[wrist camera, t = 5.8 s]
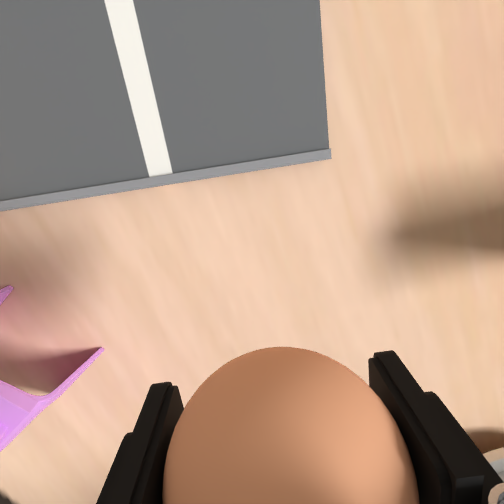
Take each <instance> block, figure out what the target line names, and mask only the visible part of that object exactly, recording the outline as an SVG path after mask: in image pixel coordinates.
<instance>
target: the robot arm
mask: <svg viewBox="0 0 504 504" xmlns="http://www.w3.org/2000/svg"><path fill="white" fill-rule="evenodd" d="M368 363H369V387H370V388H371V389H372V390H373V391H374V392H375V393H376V394H377V395H378V397H379V398H380V399H381V400H382V402H383V403H384V405H385V406H386V407H387V409H388V410H389V412H390V413H391V415H392V417H393V418H394V420H395V421H396V423H397V425H398V428H399V430H400V432H401V434H402V436H403V438H404V440H405V443H406V445H407V447H408V450H409V454H410V457H411V460H412V464H413V467H414V471H415V475H416V480H417V486H418V493H419V504H504V447H502V448H498V449H495V450H491V451H488V452H486V453H484V454H482V453H481V452H480V450H479V449H478V448H477V446H476V445H475V444H474V443H473V441H472V440H471V439H470V437H469V436H468V435H467V433H466V432H465V431H464V430H463V428H462V427H461V426H460V424H459V423H458V422H457V420H456V419H455V418H454V417H453V415H452V414H451V413H450V411H449V410H448V409H447V407H446V406H445V405H444V404H443V402H442V401H441V400H440V398H439V397H438V396H437V395H436V394H435V393H433V392H432V391H431V392H424V391H423V390H422V389H421V387H420V386H419V385H418V383H417V382H416V380H415V379H414V378H413V376H412V375H411V374H410V372H409V371H408V369H407V368H406V367H405V365H404V364H403V362H402V361H401V360H400V358H399V357H398V356H397V354H396V353H395V352H394V351H393V350H391V351H384V352H377V353H374V358H370V359H369V361H368ZM183 410H184V407H183V404H182V400H181V396H180V393H179V389H178V387H177V386H172V383H171V382H164V383H156V384H152V385H151V387H150V389H149V392H148V394H147V397H146V399H145V402H144V405H143V407H142V410H141V412H140V415H139V417H138V420H137V423H136V425H135V428H134V430H133V432H131V433H127V434H126V435H125V436H124V438H123V440H122V442H121V445H120V447H119V450H118V452H117V454H116V457H115V459H114V462H113V464H112V467H111V469H110V471H109V474H108V476H107V479H106V481H105V484H104V486H103V488H102V491H101V493H100V496H99V498H98V500H97V503H96V504H163V500H162V491H163V475H164V467H165V462H166V456H167V451H168V448H169V445H170V441H171V438H172V435H173V432H174V429H175V426H176V424H177V422H178V420H179V418H180V416H181V414H182V412H183Z"/></svg>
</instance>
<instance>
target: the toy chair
mask: <svg viewBox="0 0 504 504" xmlns="http://www.w3.org/2000/svg"><path fill="white" fill-rule="evenodd" d="M12 290H13V287H12V286H10V285H8V286H6V287H5V288H3V289H1V290H0V305H1V304H2V302H3V301H4V300H5V299H6V297H7V296H8V295H9V294H10V292H11V291H12ZM104 350H105V349H104V348H102V347H101V348H100V349H99V350H97V351H96V352H95V353H94V354H93V355H92V356H91V357H90V358H89V359H88V360H87V361H85V362H84V363H83V364H82V365H81V366H80V367H79V368H78V369H77V370H76V371H75V372H73V373H72V374H71V375H70V376H69V377H68V378H67V379H66V380H65V381H64V382H63V383H61V384H60V385H59V386H58V387H57V388H56V389H55V390H54V391H52V392H51V393H49V394H47V395H45V396H36V395H31V394H29V393H26V392H24V391H22V390H20V389H18V388H16V387H14V386H12V385H10V384H8V383H6V382H4V381H1V380H0V451H2V450H3V449H4V448H5V447H6V446H7V445H8V444H9V443H10V442H11V441H12V440H13V439H14V438H15V437H16V436H17V435H18V434H19V433H20V432H21V431H22V430H23V429H24V428H25V427H26V426H27V425H28V424H29V423H30V422H31V421H32V420H33V419H34V418H35V417H36V416H37V415H38V414H39V413H40V412H42V411H43V410H44V409H45V408H46V407H47V406H48V405H50V404H51V403H52V402H53V401H54V400H56V399H57V398H58V397H60V396H61V395H62V394H63V393H64V392H65V391H66V390H67V388H68V387H69V386H70V385H71V384H72V383H73V382H74V381H75V380H76V379H77V378H78V377H79V376H80V375H81V374H82V373H83V372H84V371H85V370H86V369H87V368H88V367H89V366H90V365H91V364H92V362H93V361H94V360H95V359H96V358H97V357H98V356H99V355H100V354H101V353H102V352H103V351H104Z"/></svg>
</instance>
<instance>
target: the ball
mask: <svg viewBox="0 0 504 504" xmlns="http://www.w3.org/2000/svg"><path fill="white" fill-rule="evenodd" d="M162 500H163V504H419V493H418V486H417V480H416V475H415V471H414V467H413V464H412V460H411V457H410V454H409V450H408V447H407V445H406V443H405V440H404V438H403V436H402V434H401V432H400V430H399V428H398V425H397V423H396V421H395V420H394V418H393V417H392V415H391V413H390V412H389V410H388V409H387V407H386V406H385V405H384V403H383V402H382V400H381V399H380V398H379V397H378V395H377V394H376V393H375V392H374V391H373V390H372V389H371V388H370V387H369V386H368V385H367V384H366V383H365V382H364V381H363V380H362V379H361V378H360V377H359V376H357V375H356V374H355V373H354V372H352V371H351V370H350V369H348V368H347V367H346V366H344V365H342V364H340V363H339V362H337V361H335V360H333V359H331V358H329V357H327V356H325V355H322V354H320V353H317V352H313V351H310V350H306V349H300V348H292V347H272V348H265V349H260V350H256V351H253V352H249V353H246V354H244V355H242V356H239V357H237V358H235V359H233V360H231V361H230V362H228V363H226V364H225V365H223V366H222V367H220V368H219V369H218V370H217V371H215V372H214V373H213V374H212V375H211V376H210V377H208V378H207V379H206V380H205V381H204V382H203V384H202V385H201V386H200V387H199V388H198V389H197V391H196V392H195V393H194V395H193V396H192V398H191V399H190V400H189V402H188V403H187V405H186V406H185V408H184V410H183V412H182V414H181V416H180V418H179V420H178V422H177V424H176V426H175V429H174V432H173V435H172V438H171V441H170V445H169V448H168V451H167V456H166V462H165V467H164V475H163V491H162Z"/></svg>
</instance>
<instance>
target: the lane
mask: <svg viewBox="0 0 504 504" xmlns="http://www.w3.org/2000/svg"><path fill="white" fill-rule="evenodd" d="M326 159H331V149H329V140H328V125H327V109H326V94H325V78H324V63H323V47H322V32H321V16H320V1H319V0H0V211H6V210H12V209H18V208H24V207H31V206H37V205H43V204H50V203H56V202H62V201H69V200H75V199H81V198H87V197H94V196H100V195H106V194H113V193H119V192H125V191H131V190H138V189H144V188H150V187H157V186H163V185H169V184H175V183H182V182H188V181H194V180H201V179H207V178H213V177H219V176H226V175H232V174H238V173H245V172H251V171H257V170H263V169H270V168H276V167H282V166H289V165H295V164H301V163H307V162H314V161H320V160H326Z"/></svg>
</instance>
